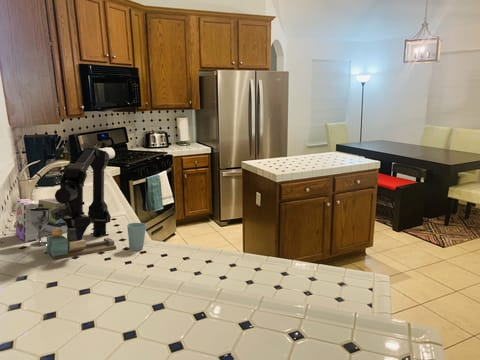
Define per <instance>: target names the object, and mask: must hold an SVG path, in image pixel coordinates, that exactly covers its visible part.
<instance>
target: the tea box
mask: <svg viewBox="0 0 480 360" xmlns="http://www.w3.org/2000/svg"><path fill="white" fill-rule="evenodd" d="M37 203H38V204H39V207H47V208H50V209H51V210H54V209H56V208H59V207H61V206H64V204H62V203H59V202H58V201H57V200H56V199H55V197H54V198H43V199H38V202H37ZM52 230H62V234H65V233H66V234H67V225H66V222H65V221H64V220H62V219H61V218H60V219H59V220H55V219H53V217H52V215H51V214H50V219H49V222H48V223H47V225H46V226H45V227H44V228H43V229H42V231H45V232H47V233H51V234H52Z"/></svg>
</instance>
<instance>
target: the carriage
mask: <svg viewBox="0 0 480 360" xmlns="http://www.w3.org/2000/svg"><path fill="white" fill-rule="evenodd" d="M83 237H84V235H83V236H82V238H81V240H80V241H77V236H76V230H75V228H70V229H67V232H66V238H67V239H68V251H74V250H80V249H85V247H86V244H87V240H86V239H84V238H83Z"/></svg>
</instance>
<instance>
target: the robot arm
mask: <svg viewBox="0 0 480 360" xmlns="http://www.w3.org/2000/svg"><path fill="white" fill-rule="evenodd" d="M109 161H110V154H109V153H108V152H107V151H106V150H103V149H100V148H97V147H94V146H93V147H92V146H90V147H89V146H86V147H85V148H84V151H83V152H82V154H81V155H80V156H79V158H78V159H77V161H76V162H75V163H72V164H69V165H68V166H66V168H65V169H64V170H63V172H62V176H61V179H60V181H59V187H60V188H58V189H57V190H56V191H55V193H54V198H55V199H56V200H57V201H58V202H59V203H62V204H64V206H61V207H59V208H56V209H54V210H51V211H50V212H51V215H52V217H53V219H55V220H59V219H60V218H61V219H62V220H64V221H65V222H66V225H67V229H70V228H75V230H76V236H77V241H80V240H81V238H82V236H83V237H84V234H85V233H86V231H87V229H88V228H89V226H90V225H91V224H93V225H92V232H93V233H91V232H90V233H91V234H90V235H92V234H93V235H92V236H94V237H100V236H99V235H103V236H106V235H105V234H106V232H107V224H108V223H111V219H112V218H111V217H112V216H111V214H110V211H109V210H108V205H107V203H106V201H105V169H106V168H107V166H108V164H109ZM90 167H91V169H92V202H91V204H90V205H89V206H88V211H87V215H86V213H85V212H84V206H85V205H86V204H85V201H83V200H84V195H83V194H84V187H85V182H86V179H87V177H88V173H87V170H88V169H89V168H90ZM83 205H84V206H83Z"/></svg>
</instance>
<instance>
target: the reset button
mask: <svg viewBox="0 0 480 360" xmlns="http://www.w3.org/2000/svg"><path fill="white" fill-rule="evenodd" d="M51 235H54V236H58V235H63V233H62V230H52V233H51Z"/></svg>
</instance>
